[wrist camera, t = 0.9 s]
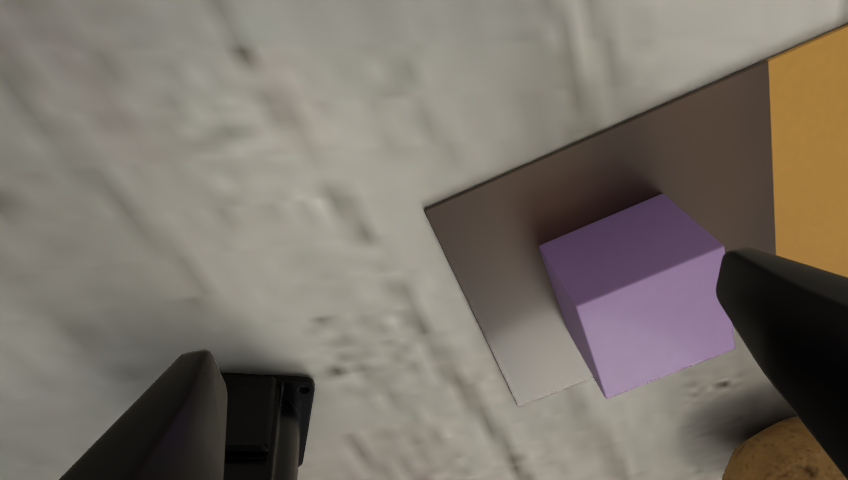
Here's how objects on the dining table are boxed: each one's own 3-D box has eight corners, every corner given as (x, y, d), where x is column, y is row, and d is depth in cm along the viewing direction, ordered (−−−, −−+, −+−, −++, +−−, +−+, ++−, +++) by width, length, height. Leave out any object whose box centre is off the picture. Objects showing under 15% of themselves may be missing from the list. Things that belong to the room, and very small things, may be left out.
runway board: (517, 404, 30) (518, 407, 30) (423, 209, 23) (424, 211, 23) (775, 302, 29) (777, 304, 29) (765, 59, 22) (768, 61, 21)
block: (568, 332, 28) (606, 400, 24) (537, 245, 25) (575, 306, 21) (679, 287, 27) (736, 349, 23) (663, 192, 24) (725, 245, 20)
